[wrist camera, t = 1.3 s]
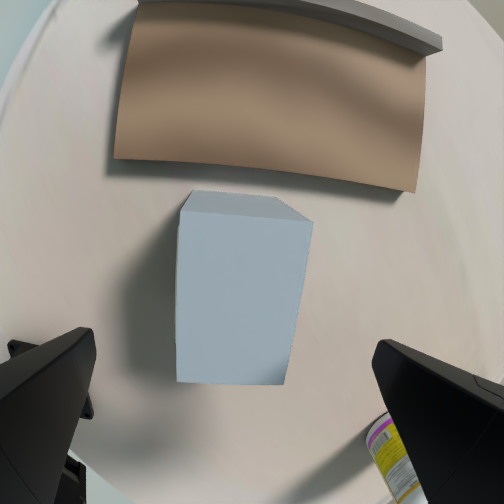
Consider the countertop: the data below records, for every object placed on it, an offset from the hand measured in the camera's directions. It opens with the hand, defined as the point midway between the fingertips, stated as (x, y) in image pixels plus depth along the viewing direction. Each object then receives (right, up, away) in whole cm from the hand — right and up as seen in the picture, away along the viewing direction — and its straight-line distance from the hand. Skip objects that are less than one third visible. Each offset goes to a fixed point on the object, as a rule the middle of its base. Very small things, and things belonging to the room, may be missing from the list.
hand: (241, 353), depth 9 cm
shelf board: (+2, +12, +6) cm, 14 cm away
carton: (-1, +3, +9) cm, 10 cm away
